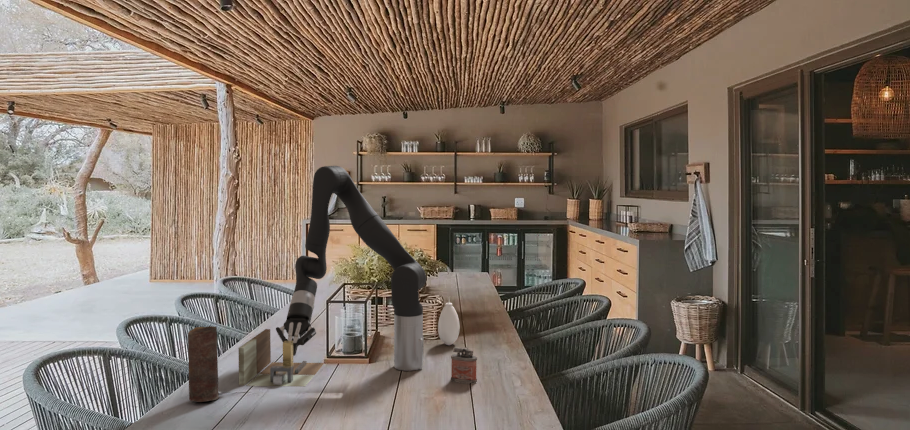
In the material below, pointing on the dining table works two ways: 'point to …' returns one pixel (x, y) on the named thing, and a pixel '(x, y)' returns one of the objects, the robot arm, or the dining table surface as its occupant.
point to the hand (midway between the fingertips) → (290, 356)
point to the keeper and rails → (286, 369)
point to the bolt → (284, 363)
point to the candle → (203, 364)
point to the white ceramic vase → (448, 324)
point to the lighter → (463, 366)
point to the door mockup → (259, 356)
